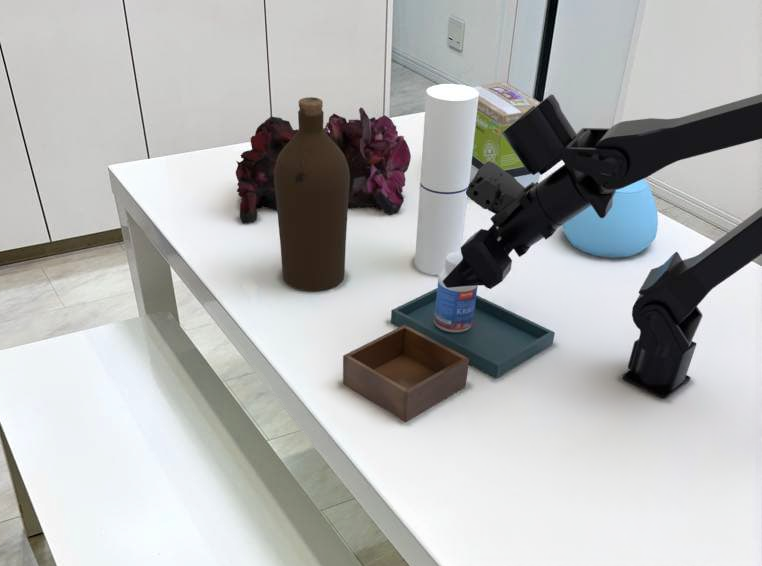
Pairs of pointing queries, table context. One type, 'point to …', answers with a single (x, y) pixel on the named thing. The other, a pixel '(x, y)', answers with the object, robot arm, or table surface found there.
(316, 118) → the olive oil
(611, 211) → the sugar bowl
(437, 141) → the cylindrical container
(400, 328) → the open box
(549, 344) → the tray
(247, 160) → the flower arrangement
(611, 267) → the table surface
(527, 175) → the tea box
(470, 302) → the pill bottle
